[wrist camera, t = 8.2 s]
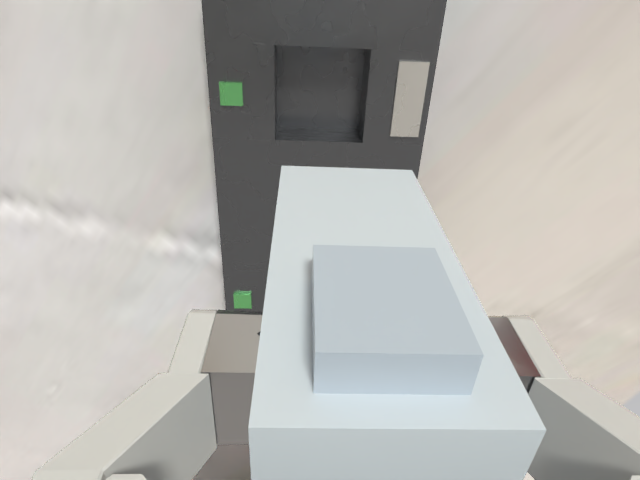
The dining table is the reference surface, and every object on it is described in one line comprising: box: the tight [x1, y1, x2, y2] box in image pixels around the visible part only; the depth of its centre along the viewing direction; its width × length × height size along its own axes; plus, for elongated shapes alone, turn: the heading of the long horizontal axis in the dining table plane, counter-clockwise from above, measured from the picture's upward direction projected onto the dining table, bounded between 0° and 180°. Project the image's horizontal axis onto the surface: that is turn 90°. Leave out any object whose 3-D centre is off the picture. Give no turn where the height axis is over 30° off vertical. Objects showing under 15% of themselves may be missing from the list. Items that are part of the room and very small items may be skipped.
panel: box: [202, 0, 447, 312], centre depth 29 cm, size 26×12×3 cm, turn 178°
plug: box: [248, 166, 546, 480], centre depth 9 cm, size 4×4×8 cm
